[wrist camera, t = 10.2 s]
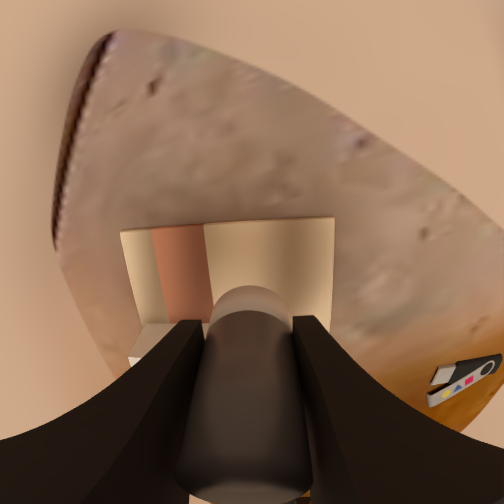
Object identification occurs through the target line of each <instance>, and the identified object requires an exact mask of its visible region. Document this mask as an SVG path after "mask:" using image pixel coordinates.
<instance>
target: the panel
mask: <svg viewBox="0 0 504 504" xmlns="http://www.w3.org/2000/svg"><path fill="white" fill-rule="evenodd" d="M334 222H335V218H334V217H333V216H329V217H306V218H286V219H267V220H250V221H234V222H219V223H205V224H191V225H178V226H166V227H154V228H143V229H131V230H122V231H121V232H120V236H121V241H122V246H123V251H124V256H125V260H126V265H127V269H128V274H129V278H130V282H131V286H132V290H133V294H134V298H135V302H136V306H137V309H138V313H139V317H140V320H141V324H142V327H143V328H144V326H145V324H146V323H178V322H179V321H180V320H192V319H201V321H202V323H210V319H211V315H212V311H213V308H214V305H215V304H216V302H217V300H218V299H219V298H220V297H221V296H222V295H223V294H225V293H226V292H227V291H229V290H231V289H234V288H236V287H240V286H246V285H254V286H260V287H264V288H267V289H269V290H271V291H273V292H275V293H276V294H278V295H279V296H280V297H281V298H282V299H283V300H284V302H285V303H286V305H287V307H288V310H289V313H290V319H291V325H292V320H293V316H303V315H314V316H315V317H316V318H317V319H318V320H319V321H320V322H321V324H322V325H323V326H324V327H325V329H326V330H327V331H328V332H330V319H331V304H332V287H333V264H334Z"/></svg>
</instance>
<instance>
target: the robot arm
mask: <svg viewBox="0 0 504 504" xmlns="http://www.w3.org/2000/svg"><path fill="white" fill-rule="evenodd" d="M292 334H293V341H294V347H295V354H296V359H297V364H298V370H299V377H300V383H301V390H302V397H303V404H304V411H305V418H306V425H307V432H308V440H309V447H310V455H311V463H312V471H313V480H314V482H313V485H312V487H311V488H310V498H311V504H504V449H503V448H500V447H497V446H493V445H490V444H487V443H484V442H481V441H478V440H475V439H472V438H470V437H468V436H466V435H463V434H461V433H459V432H457V431H454V430H452V429H450V428H448V427H446V426H444V425H442V424H440V423H438V422H436V421H434V420H433V419H431V418H429V417H428V416H426V415H424V414H422V413H421V412H419V411H417V410H416V409H414V408H412V407H411V406H409V405H408V404H406V403H405V402H403V401H402V400H400V399H399V398H398V397H396V396H395V395H394V394H392V393H391V392H390V391H388V390H387V389H386V388H384V387H383V386H382V385H381V384H379V383H378V382H377V381H376V380H375V379H374V378H372V377H371V376H370V375H369V374H368V373H367V372H366V371H365V370H364V369H363V368H361V367H360V366H359V365H358V364H357V363H356V362H355V361H354V360H353V359H352V358H351V357H350V356H349V354H348V353H347V352H346V351H345V350H344V349H343V348H342V347H341V346H340V345H339V344H338V343H337V342H336V340H335V339H334V338H333V337H332V336H331V335H330V333H329V332H328V331H327V330H326V329H325V327H324V326H323V325H322V324H321V322H320V321H319V320H318V319H317V318H316V317H315V316H314V315H303V316H293V320H292ZM204 343H205V338H204V333H203V327H202V321H201V319H192V320H180V321H179V322H178V323H177V324H176V325H175V326H174V327H173V328H172V329H171V330H170V331H169V332H168V333H167V334H166V335H165V336H164V337H163V338H162V339H161V340H160V341H159V342H158V343H157V344H156V345H155V346H154V347H153V348H152V349H151V350H150V351H149V352H148V353H147V354H146V355H145V356H143V357H142V358H141V359H140V360H139V361H138V362H137V363H136V364H134V365H133V366H132V367H131V368H130V369H129V370H127V371H126V372H125V373H124V374H123V375H122V376H120V377H119V378H118V379H117V380H116V381H114V382H113V383H112V384H110V385H109V386H108V387H106V388H105V389H104V390H102V391H101V392H100V393H98V394H97V395H95V396H94V397H92V398H91V399H89V400H88V401H86V402H85V403H83V404H81V405H79V406H78V407H76V408H74V409H73V410H71V411H69V412H67V413H65V414H63V415H62V416H60V417H58V418H56V419H54V420H52V421H50V422H48V423H46V424H44V425H41V426H39V427H37V428H35V429H32V430H30V431H27V432H24V433H22V434H19V435H16V436H13V437H10V438H7V439H3V440H0V504H189V495H190V494H189V493H188V492H186V491H185V490H183V489H182V488H181V487H180V486H179V485H178V484H177V482H176V480H175V478H174V473H175V468H176V463H177V459H178V454H179V450H180V445H181V441H182V436H183V432H184V427H185V423H186V419H187V414H188V410H189V406H190V401H191V397H192V393H193V388H194V384H195V380H196V376H197V372H198V368H199V363H200V359H201V355H202V351H203V347H204Z"/></svg>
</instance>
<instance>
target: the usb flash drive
mask: <svg viewBox="0 0 504 504" xmlns="http://www.w3.org/2000/svg"><path fill="white" fill-rule="evenodd" d="M501 362H502V355H501V354H496V355H491V356H486V357H481V358H475V359H469V360H463V361H458V362H456V363H455V364H450V365H443V366H438V371H437V373H436V375H435V377H434V379H433V381H432V382H430V384H431V385H436V384H442V383H448V384H451V383H453V384H451V385H449V386H448V387H446V388H444V389H442V390H440V391H439V392H437V393H435V394H433V395H429V394H428V393H427V403H428V406H429V407H433V406H435V405H437V404H439V403H441V402H443V401H445V400H446V399H448V398H450V397H452V396H453V395H455V394H457V393H459V392H460V391H462V390H464V389H465V388H467V387H469V386H470V385H472V384H473V383H475V382H477V381H478V380H480V379H481V378H483V377H484V376H486V375H489V374H493V373H495V372H496V371H497V369H498V368H499V366H500V364H501Z"/></svg>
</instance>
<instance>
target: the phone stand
mask: <svg viewBox="0 0 504 504" xmlns="http://www.w3.org/2000/svg"><path fill="white" fill-rule="evenodd" d="M310 500H311V498H310V497H301V498H296V499H294V500H291V501H288V502H285V503H282V504H309V503H310Z"/></svg>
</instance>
